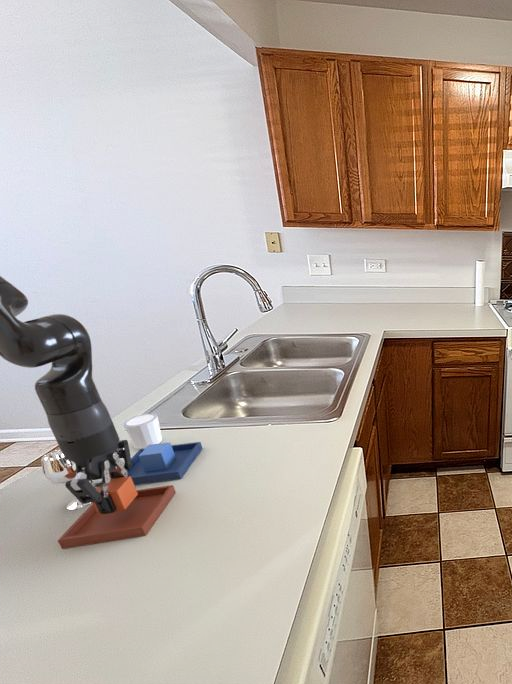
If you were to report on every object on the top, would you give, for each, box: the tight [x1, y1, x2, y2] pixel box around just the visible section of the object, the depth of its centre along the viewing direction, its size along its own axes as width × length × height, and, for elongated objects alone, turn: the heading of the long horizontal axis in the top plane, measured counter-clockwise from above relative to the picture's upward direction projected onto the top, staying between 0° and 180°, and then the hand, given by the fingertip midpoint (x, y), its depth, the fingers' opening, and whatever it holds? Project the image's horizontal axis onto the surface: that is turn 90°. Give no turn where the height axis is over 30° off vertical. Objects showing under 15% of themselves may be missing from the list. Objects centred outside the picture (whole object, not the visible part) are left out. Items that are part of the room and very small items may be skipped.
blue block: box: [139, 441, 176, 472], centre depth 92 cm, size 4×4×4 cm
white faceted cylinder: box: [122, 412, 163, 450], centre depth 101 cm, size 7×7×7 cm
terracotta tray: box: [57, 484, 177, 550], centre depth 78 cm, size 13×12×2 cm
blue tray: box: [127, 441, 203, 486], centre depth 93 cm, size 13×12×2 cm
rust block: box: [91, 476, 138, 514], centre depth 76 cm, size 4×4×4 cm
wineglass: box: [40, 448, 91, 511], centre depth 80 cm, size 6×6×12 cm
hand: (117, 502), depth 77 cm, fingers closed on rust block, 4 cm apart
